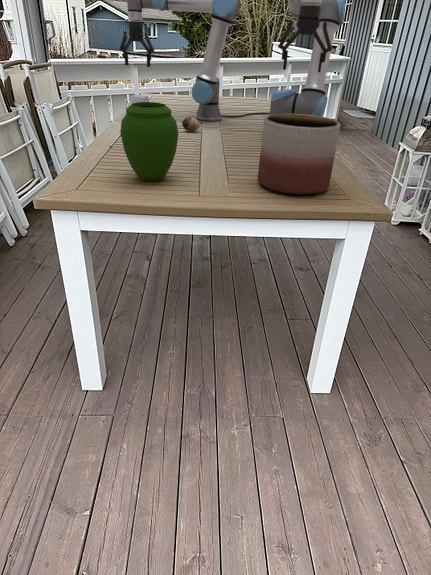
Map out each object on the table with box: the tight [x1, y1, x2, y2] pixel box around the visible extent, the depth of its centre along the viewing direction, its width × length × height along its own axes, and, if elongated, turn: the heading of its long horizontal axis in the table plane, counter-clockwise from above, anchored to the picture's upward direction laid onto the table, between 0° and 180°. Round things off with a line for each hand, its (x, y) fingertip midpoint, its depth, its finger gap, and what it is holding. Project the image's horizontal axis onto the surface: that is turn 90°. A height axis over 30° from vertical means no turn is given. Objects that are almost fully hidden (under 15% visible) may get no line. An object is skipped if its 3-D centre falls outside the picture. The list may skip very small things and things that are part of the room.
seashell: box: [181, 114, 201, 132], centre depth 214 cm, size 10×6×8 cm, turn 97°
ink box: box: [129, 94, 150, 106], centre depth 242 cm, size 8×8×12 cm
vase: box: [119, 101, 179, 182], centre depth 140 cm, size 20×20×24 cm
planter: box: [257, 114, 341, 196], centre depth 141 cm, size 25×25×22 cm
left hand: (137, 66), depth 231 cm, fingers open, 13 cm apart
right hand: (301, 70), depth 161 cm, fingers open, 13 cm apart
